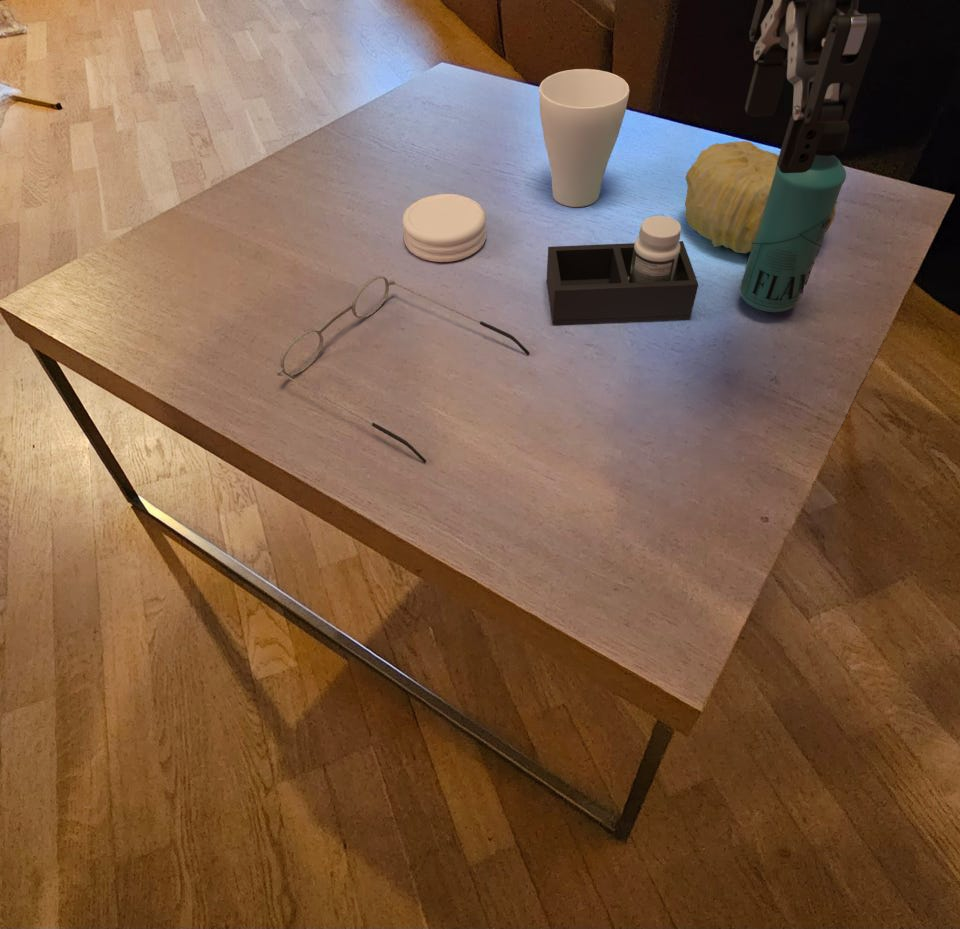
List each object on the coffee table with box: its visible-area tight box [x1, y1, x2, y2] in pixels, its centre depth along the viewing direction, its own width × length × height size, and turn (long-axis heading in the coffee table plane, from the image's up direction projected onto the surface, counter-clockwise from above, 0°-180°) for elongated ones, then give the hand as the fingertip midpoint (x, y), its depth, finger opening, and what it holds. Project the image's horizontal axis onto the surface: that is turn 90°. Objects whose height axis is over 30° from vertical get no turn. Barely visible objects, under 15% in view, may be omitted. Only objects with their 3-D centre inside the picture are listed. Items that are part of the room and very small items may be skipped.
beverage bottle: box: [739, 121, 850, 313], centre depth 71 cm, size 6×7×20 cm
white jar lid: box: [401, 193, 487, 263], centre depth 87 cm, size 10×10×4 cm
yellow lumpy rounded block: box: [684, 140, 838, 254], centre depth 84 cm, size 17×11×15 cm
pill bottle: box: [629, 215, 682, 283], centre depth 76 cm, size 5×5×8 cm
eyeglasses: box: [275, 275, 530, 464], centre depth 72 cm, size 18×19×4 cm
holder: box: [546, 240, 699, 326], centre depth 78 cm, size 8×15×5 cm, turn 92°
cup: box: [538, 68, 631, 208], centre depth 89 cm, size 10×10×14 cm
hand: (774, 141), depth 53 cm, fingers open, 8 cm apart
